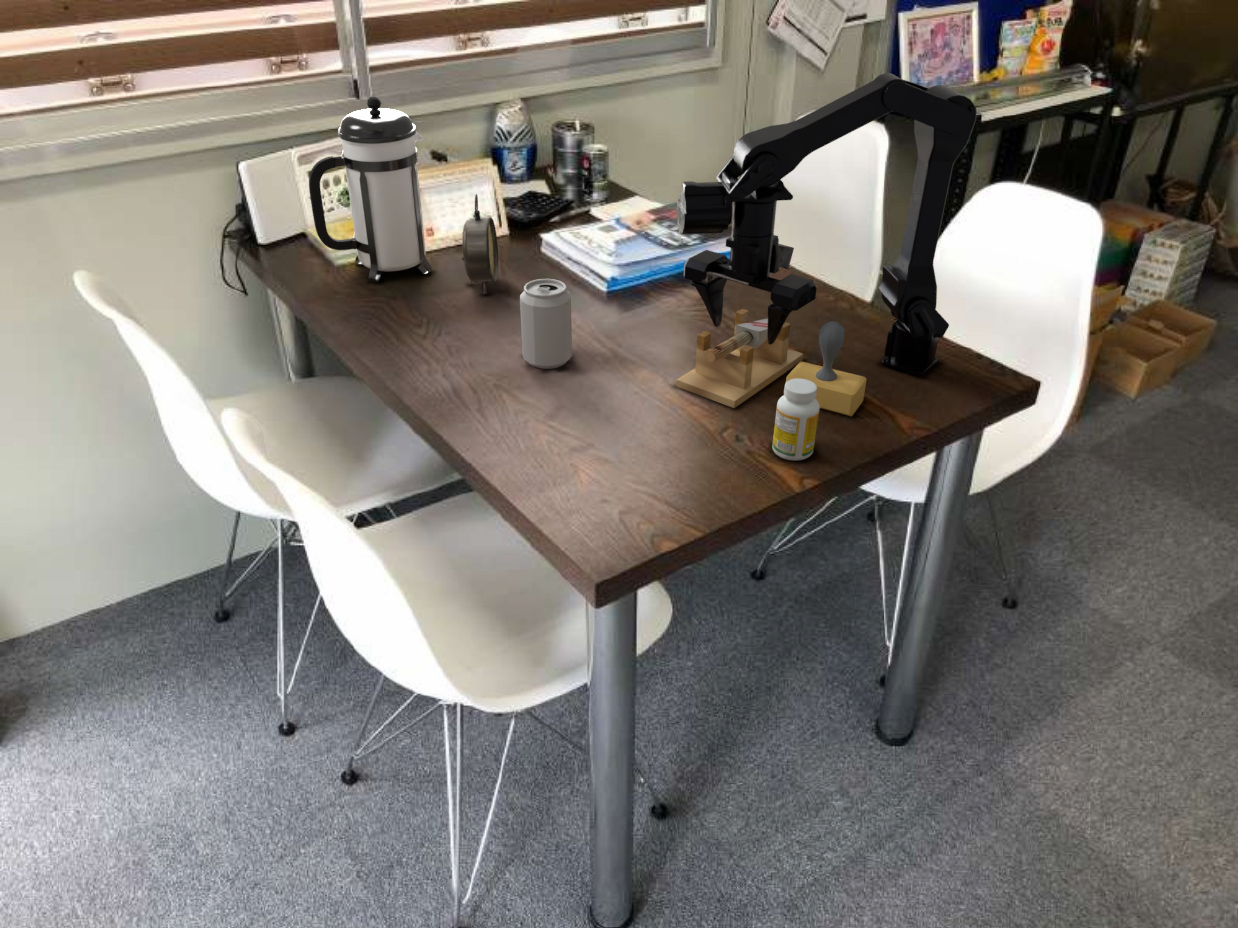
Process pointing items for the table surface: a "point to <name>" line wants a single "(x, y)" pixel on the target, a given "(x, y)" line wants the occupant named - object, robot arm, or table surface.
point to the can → (546, 323)
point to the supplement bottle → (796, 420)
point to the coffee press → (377, 190)
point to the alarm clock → (480, 249)
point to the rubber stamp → (832, 375)
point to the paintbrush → (740, 339)
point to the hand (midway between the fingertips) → (744, 334)
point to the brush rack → (739, 367)
